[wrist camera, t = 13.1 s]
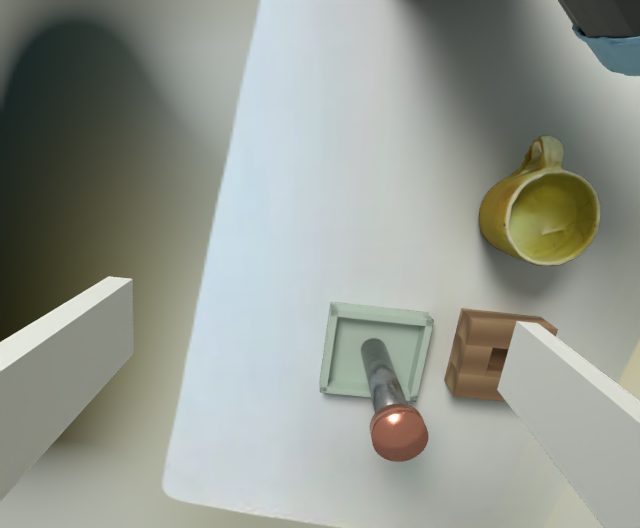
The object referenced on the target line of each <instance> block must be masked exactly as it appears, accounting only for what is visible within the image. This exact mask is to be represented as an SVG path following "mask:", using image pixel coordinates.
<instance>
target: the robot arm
mask: <svg viewBox="0 0 640 528" xmlns="http://www.w3.org/2000/svg"><path fill="white" fill-rule="evenodd" d="M558 1H559V3H560V5H561V6H562V8H563V9H564V11H565V12H566V14H567V15H568V17H569V19H570V20H571V22H572V23H573V27H572V29H573V31H574V33H575V34H576V36H577V37H578V38H579V39H581V40H583V41H585V42H586V43H587V44H588V46H589V47H590V48H591V50H592V51H593V53H594V54H595V55H596V57H597V58H598V59H599V61H600V62H601V63H602V65H603V66H604V67H606V68H607V69H609V70H610V71H612V72H616V73H621V74H624V75H628V76H640V0H558ZM132 354H133V280H132V279H128V278H119V277H107V278H106V279H104V280H102V281H101V282H99V283H97V284H96V285H94V286H93V287H91V288H89V289H87V290H86V291H84V292H83V293H81V294H79V295H78V296H76V297H74V298H73V299H71V300H69V301H68V302H66V303H64V304H63V305H61V306H59V307H58V308H56V309H55V310H53V311H51V312H50V313H48V314H46V315H45V316H43V317H41V318H40V319H38V320H36V321H35V322H33V323H32V324H30V325H28V326H27V327H25V328H23V329H22V330H20V331H19V332H17V333H15V334H13V335H12V336H10V337H8V338H7V339H5V340H3V341H0V501H1V500H2V499H3V498H4V497H5V496H6V495H7V494H8V493H9V491H10V490H11V489H12V488H13V487H14V486H15V485H16V484H17V482H18V481H19V480H20V479H21V478H22V477H23V476H24V475H25V473H26V472H27V471H28V470H29V469H30V468H31V467H32V466H33V465H34V463H35V462H36V461H37V460H38V459H39V458H40V457H41V456H42V455H43V453H44V452H45V451H46V450H47V449H48V448H49V447H50V446H51V445H52V443H53V442H54V441H55V440H56V439H57V438H58V437H59V436H60V434H61V433H62V432H63V431H64V430H65V429H66V428H67V427H68V426H69V424H70V423H71V422H72V421H73V420H74V419H75V418H76V417H77V415H78V414H79V413H80V412H81V411H82V410H83V409H84V408H85V407H86V406H87V404H88V403H89V402H90V401H91V400H92V399H93V398H94V397H95V396H96V394H97V393H98V392H99V391H100V390H101V389H102V388H103V387H104V386H105V384H106V383H107V382H108V381H109V380H110V379H111V378H112V376H113V375H114V374H115V373H116V372H117V371H118V370H119V369H120V367H122V365H123V364H124V363H125V362H126V361H127V360H128V359H129V358H130V356H131V355H132ZM497 390H498V392H499V393H500V394H501V395H502V397H503V398H504V399H505V401H506V402H507V403H508V404H509V406H510V407H511V408H512V410H513V411H514V412H515V414H516V415H517V416H518V417H519V419H520V420H521V421H522V423H523V424H524V425H525V426H526V428H527V429H528V430H529V432H530V433H531V434H532V436H533V437H534V438H535V439H536V441H537V442H538V443H539V445H540V446H541V447H542V448H543V450H544V451H545V452H546V454H547V455H548V456H549V457H550V459H551V460H552V461H553V463H554V464H555V465H556V467H557V468H558V469H559V470H560V472H561V473H562V474H563V476H564V477H565V478H566V479H567V481H568V482H569V483H570V485H571V486H572V487H573V489H574V490H575V491H576V492H577V494H578V495H579V496H580V498H581V499H582V500H583V501H584V503H585V504H586V505H587V507H588V508H589V509H590V510H591V512H592V513H593V514H594V516H595V517H596V518H597V520H598V521H599V522H600V523H601V525H602V526H603V527H604V528H640V401H639V400H638V399H637V398H635V397H634V396H633V395H631V394H630V393H629V392H628V391H626V390H625V389H624V388H622V387H621V386H620V385H618V384H617V383H616V382H614V381H613V380H612V379H610V378H609V377H608V376H607V375H605V374H604V373H603V372H601V371H600V370H599V369H597V368H596V367H595V366H593V365H592V364H591V363H589V362H588V361H587V360H586V359H584V358H583V357H582V356H580V355H579V354H578V353H576V352H575V351H574V350H572V349H571V348H570V347H568V346H567V345H566V344H565V343H563V342H562V341H561V340H559V339H558V338H557V337H555V336H554V335H553V334H551V333H550V332H549V331H547V330H546V329H545V328H544V327H542V326H541V325H540V324H538V323H531V322H522V321H516V325H515V329H514V332H513V336H512V339H511V343H510V346H509V350H508V353H507V357H506V360H505V364H504V367H503V371H502V374H501V378H500V381H499V385H498V388H497Z"/></svg>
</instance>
